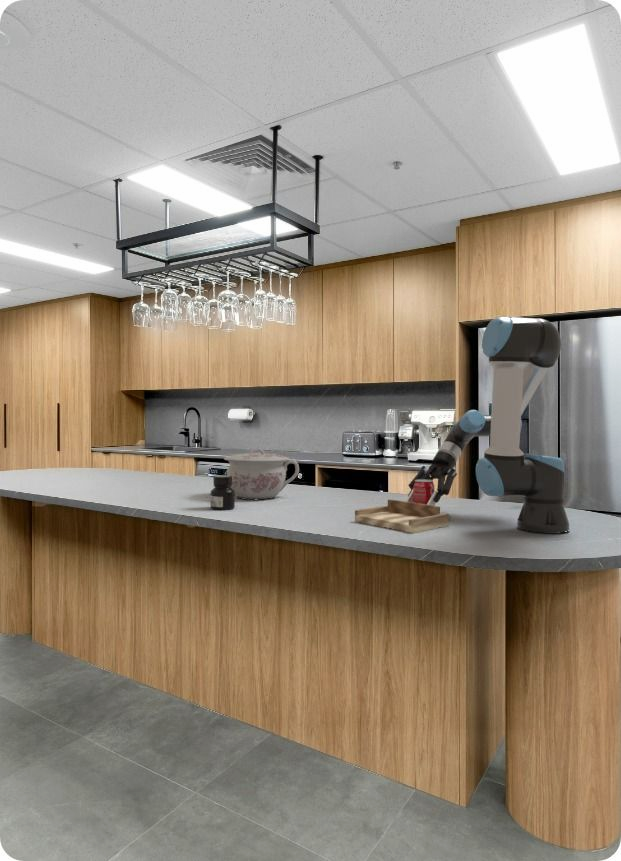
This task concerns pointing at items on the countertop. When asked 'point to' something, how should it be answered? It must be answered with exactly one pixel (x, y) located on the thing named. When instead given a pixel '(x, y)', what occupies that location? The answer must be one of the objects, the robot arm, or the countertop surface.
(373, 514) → the wooden tray
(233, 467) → the chamber pot
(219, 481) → the ink bottle
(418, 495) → the soda can
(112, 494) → the countertop surface
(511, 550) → the countertop surface
